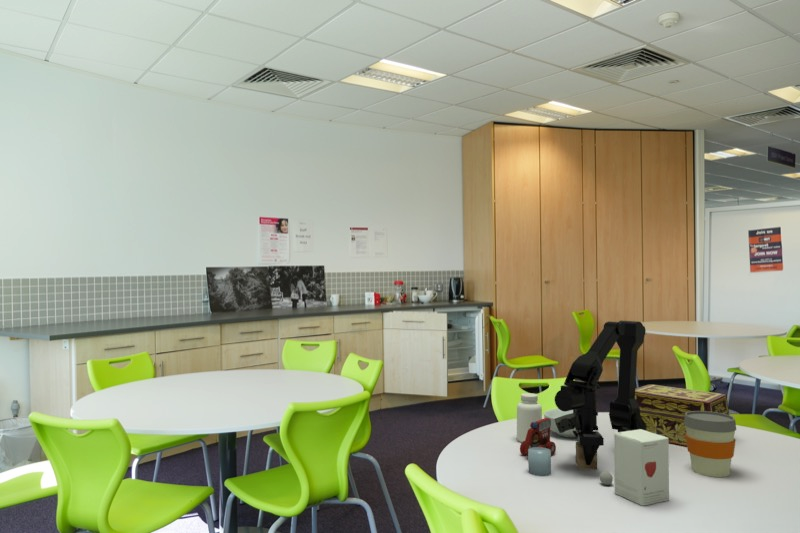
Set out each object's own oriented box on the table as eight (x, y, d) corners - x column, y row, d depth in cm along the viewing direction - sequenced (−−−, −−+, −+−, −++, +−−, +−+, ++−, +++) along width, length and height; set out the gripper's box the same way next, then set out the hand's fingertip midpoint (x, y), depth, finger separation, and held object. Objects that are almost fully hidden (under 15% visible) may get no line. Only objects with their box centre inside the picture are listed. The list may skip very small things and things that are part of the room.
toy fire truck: (515, 457, 167) (515, 421, 167) (539, 448, 175) (538, 414, 176) (536, 462, 162) (535, 426, 162) (559, 453, 170) (558, 418, 170)
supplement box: (642, 507, 130) (641, 442, 130) (613, 493, 138) (612, 432, 139) (670, 500, 134) (669, 437, 134) (641, 487, 142) (640, 428, 142)
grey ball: (612, 482, 145) (612, 470, 145) (612, 487, 142) (612, 474, 142) (599, 481, 146) (599, 469, 146) (599, 485, 143) (599, 473, 143)
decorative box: (623, 435, 189) (623, 390, 190) (647, 424, 202) (646, 383, 202) (712, 453, 169) (712, 403, 170) (732, 440, 182) (732, 394, 182)
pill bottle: (542, 445, 178) (542, 397, 179) (516, 443, 180) (516, 396, 180) (541, 438, 186) (541, 392, 186) (516, 436, 188) (516, 391, 188)
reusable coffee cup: (731, 466, 157) (730, 412, 157) (742, 481, 145) (741, 423, 146) (681, 461, 161) (680, 409, 162) (688, 476, 149) (687, 419, 150)
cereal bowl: (554, 425, 202) (554, 405, 202) (602, 432, 192) (601, 411, 193) (536, 436, 188) (536, 415, 189) (586, 444, 179) (586, 422, 179)
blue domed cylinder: (551, 469, 156) (551, 448, 156) (550, 477, 150) (549, 454, 150) (529, 467, 158) (529, 446, 158) (527, 474, 152) (527, 452, 152)
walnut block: (594, 463, 160) (593, 442, 160) (597, 469, 155) (597, 447, 156) (576, 462, 161) (575, 441, 161) (578, 468, 156) (578, 447, 156)
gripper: (552, 398, 169) (553, 450, 169) (560, 413, 151) (560, 471, 150) (591, 399, 167) (592, 452, 167) (603, 414, 149) (604, 473, 149)
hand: (586, 461), depth 158 cm, fingers closed on walnut block, 5 cm apart
